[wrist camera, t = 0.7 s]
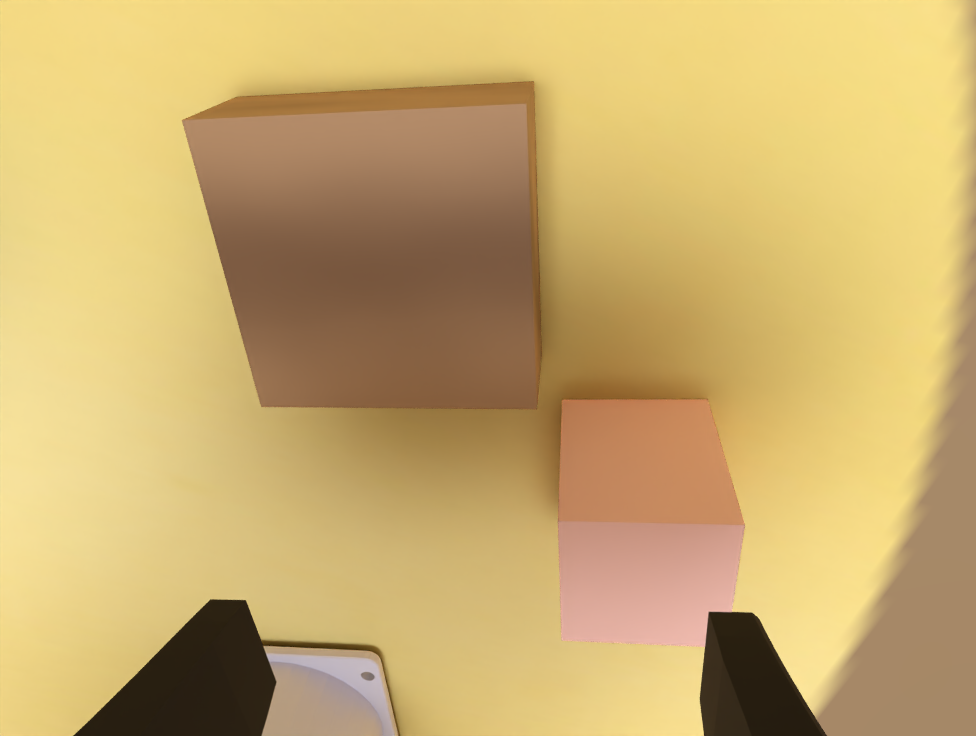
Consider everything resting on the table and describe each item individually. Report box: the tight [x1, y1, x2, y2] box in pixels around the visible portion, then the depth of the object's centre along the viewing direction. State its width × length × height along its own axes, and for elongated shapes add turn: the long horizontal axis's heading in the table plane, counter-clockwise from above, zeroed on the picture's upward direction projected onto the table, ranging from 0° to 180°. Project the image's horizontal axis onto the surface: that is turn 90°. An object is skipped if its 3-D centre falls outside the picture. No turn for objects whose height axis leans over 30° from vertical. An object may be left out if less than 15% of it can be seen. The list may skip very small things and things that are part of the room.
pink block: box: [558, 399, 745, 647], centre depth 18 cm, size 4×4×5 cm
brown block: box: [182, 81, 542, 409], centre depth 17 cm, size 7×7×3 cm
